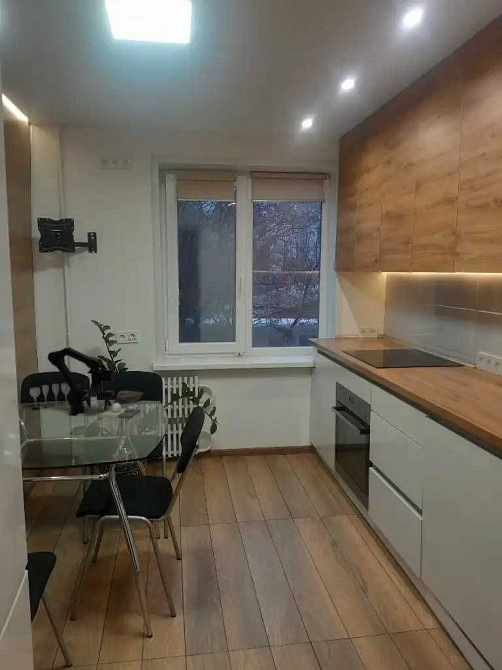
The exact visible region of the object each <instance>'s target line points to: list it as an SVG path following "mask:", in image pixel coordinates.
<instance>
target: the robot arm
mask: <svg viewBox="0 0 502 670" xmlns="http://www.w3.org/2000/svg"><path fill="white" fill-rule="evenodd" d="M66 356H68V357H70V358H72V359H74V360H76V361H79V362H81V363H82V364H85V366H86V367H87V368H89V370H88V372H87V374H90V377H91V378H90V379H91V380H90V381H91V383H90V385H89V386H90V387H89V388H88V389H86V387H85V386H84V385H80V384H79V383H78V382H77V380H76V379H75V377H74V375H73V373H72V372H71V371H70V369H69V367H68V366H67V364H66V361H65V360H66V359H65V357H66ZM47 360H48V361H49V363H50V364H51V365H53V367H55V368H57V370H58V372H59V373H60V374H61V376H62V378H63V380H64V381H65V383H67V384H68V386H69V387H70V395H71V398H70V399H69V400H68V402H67V403H68V405H70V413H69V415H72V416H78V415H79V414H84V413H85V409H86V408H85V405H84V402H86V405H87V407H88V408H89V409H91V406H92V403H91V402H92V398H96V397H97V396H104V398H103V399H104V410H106V409H107V407H108V404H109V402H110V399H111V398H113V397H114V396H116V391H114V390H110V389H109V390H106V391H104V389H103V384H104V383H106V382H107V383H114V382H115V380H116V378H117V375H116V373H115V371H114V369H108V368H107V367H106V365H105V364H104V361H103V360H102V358H98V357H95V356H89V355H87V354H85V353H82V352H80V351H78V350H76V349H74V348H72V347H70V346H68V347H64V348H63V349H60V350H55V351H51V352H49V353H48V355H47ZM78 384H79V385H78Z"/></svg>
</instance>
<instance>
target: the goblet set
mask: <svg viewBox="0 0 502 670" xmlns="http://www.w3.org/2000/svg"><path fill="white" fill-rule="evenodd" d="M78 385H80V384H79V383H78ZM51 388H52V392H53V395H54V398H55V399H57V396H58V395H59V394H58V393H59V390H60V389H61V391H62V393H63V394H64V396H65V405H67V404H68V402H67V396H68V394H69V392H71V390H70V387H69V386H68V384H67V383H66V382H62V383H61V385H60V387H59V383H52V387H51ZM41 390H42V394H43V397H44V400H45V401H47V398H48V397H47V396H48V393H49V390H50V388H49V384H42V386H41V389H40V387H39V386H33V387H30V389H29V395H30V396H31V397H33V399H34V405H35V406H36V407H37V398H38V397H39V396H40V394H41ZM55 405H58V403H57V401H55ZM35 406H34V407H35Z"/></svg>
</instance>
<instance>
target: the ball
mask: <svg viewBox="0 0 502 670" xmlns="http://www.w3.org/2000/svg"><path fill="white" fill-rule="evenodd" d="M121 405H122V404H119V403H114V402H113V404H112V405H111V408H112V410H113V411H114V412H118V411H120V409H122V406H121Z"/></svg>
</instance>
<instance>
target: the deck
mask: <svg viewBox="0 0 502 670" xmlns="http://www.w3.org/2000/svg"><path fill="white" fill-rule="evenodd" d="M139 412H140V413H141V408H121V409H120V411H118V412H114V411H113V410H112V407H110V408H108V409H107V410H105V411H104V412H102V413H101V414H100V415H99V417H100V418H103V419H104V418H106V419H109V418H111V419H133V418H135V416H138V414H139Z"/></svg>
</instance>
